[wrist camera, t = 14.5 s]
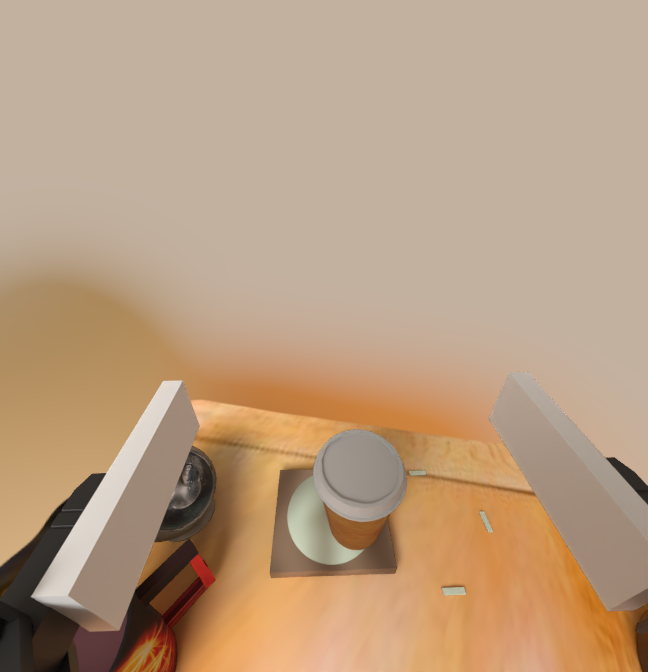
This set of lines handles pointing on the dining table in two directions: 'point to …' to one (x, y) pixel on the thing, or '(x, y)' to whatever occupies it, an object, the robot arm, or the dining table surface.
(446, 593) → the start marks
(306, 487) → the board
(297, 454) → the dining table surface
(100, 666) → the mug
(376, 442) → the disposable coffee cup
